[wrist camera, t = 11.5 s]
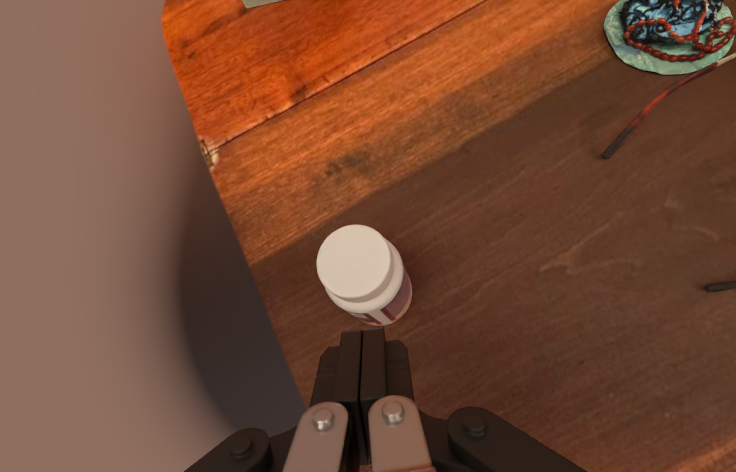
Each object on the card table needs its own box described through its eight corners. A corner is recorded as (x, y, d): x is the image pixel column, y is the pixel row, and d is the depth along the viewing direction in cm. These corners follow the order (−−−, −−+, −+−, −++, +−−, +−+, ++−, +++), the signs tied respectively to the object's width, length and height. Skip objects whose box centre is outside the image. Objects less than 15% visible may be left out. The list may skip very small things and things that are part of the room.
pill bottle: (399, 251, 29) (381, 204, 21) (422, 313, 27) (411, 285, 19) (339, 274, 29) (299, 235, 21) (358, 336, 27) (322, 318, 19)
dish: (717, -58, 30) (745, -59, 24) (731, 36, 32) (759, 55, 26) (597, 0, 34) (598, 10, 29) (617, 78, 37) (621, 101, 31)
